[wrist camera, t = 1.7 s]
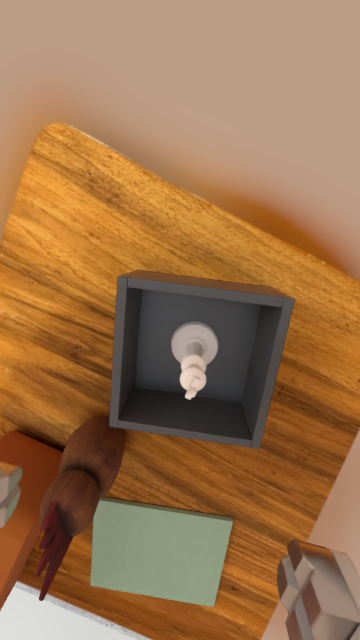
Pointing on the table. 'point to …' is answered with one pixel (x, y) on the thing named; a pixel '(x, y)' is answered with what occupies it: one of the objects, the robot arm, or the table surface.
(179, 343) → the chess piece
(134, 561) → the mat
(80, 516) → the wooden figurine
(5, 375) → the table surface
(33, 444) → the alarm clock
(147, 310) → the tub
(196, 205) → the table surface
